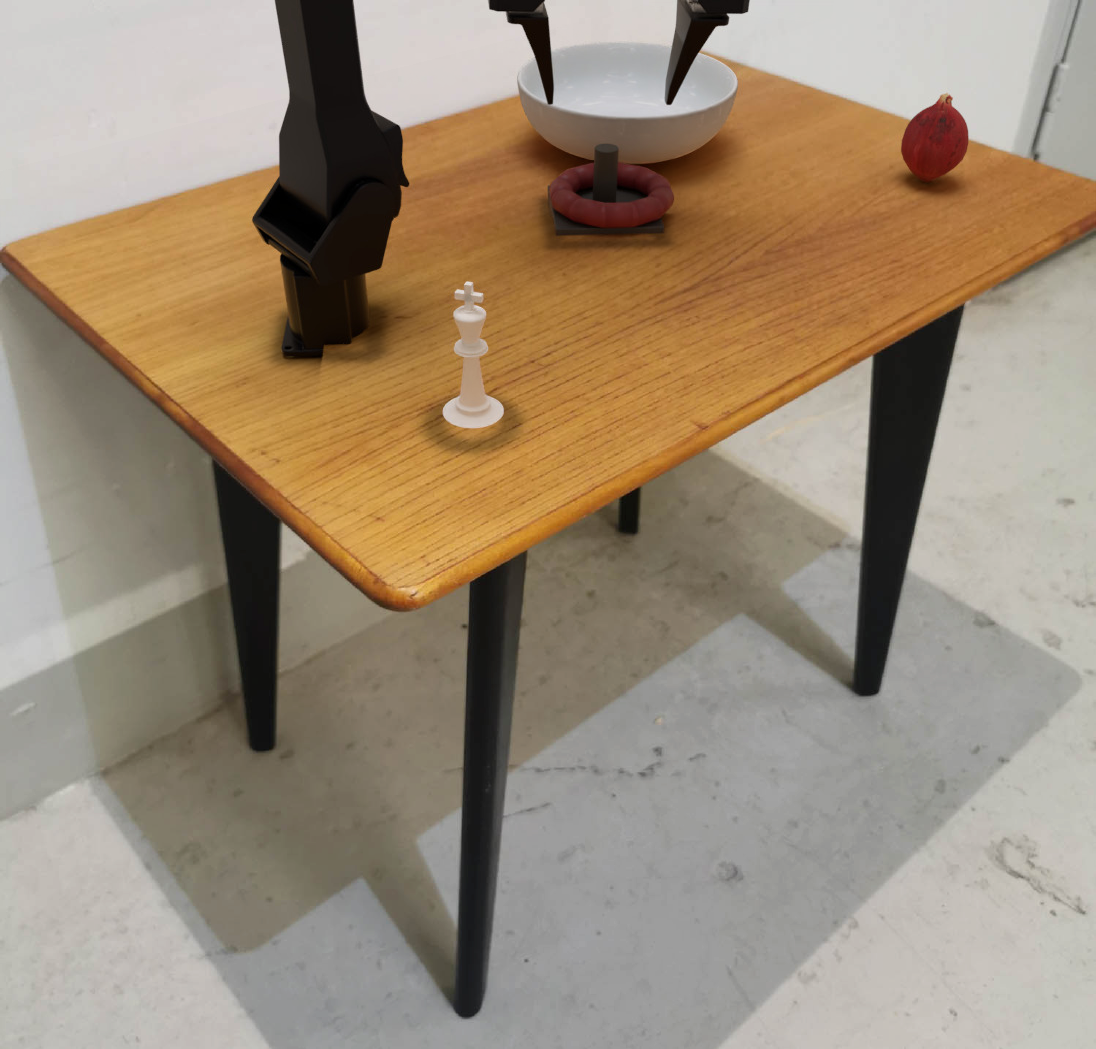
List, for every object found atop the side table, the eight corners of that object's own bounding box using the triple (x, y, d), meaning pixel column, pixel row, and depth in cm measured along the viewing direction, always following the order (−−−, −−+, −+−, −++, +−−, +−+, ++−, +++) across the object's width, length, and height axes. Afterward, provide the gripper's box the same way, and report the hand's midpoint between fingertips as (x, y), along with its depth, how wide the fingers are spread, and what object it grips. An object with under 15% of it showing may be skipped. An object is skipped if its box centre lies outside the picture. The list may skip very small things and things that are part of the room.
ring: (681, 230, 92) (683, 207, 91) (555, 233, 92) (555, 210, 90) (661, 180, 100) (663, 158, 99) (545, 182, 100) (545, 160, 98)
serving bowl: (474, 142, 111) (471, 70, 106) (623, 95, 122) (627, 28, 117) (623, 209, 99) (628, 132, 95) (774, 151, 110) (784, 79, 106)
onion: (955, 198, 102) (978, 109, 97) (890, 189, 103) (909, 101, 98) (959, 174, 106) (981, 88, 101) (896, 166, 107) (915, 80, 102)
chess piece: (451, 396, 76) (444, 259, 69) (521, 409, 74) (520, 271, 68) (424, 437, 72) (414, 296, 66) (497, 450, 71) (494, 308, 64)
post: (663, 243, 94) (669, 168, 90) (555, 246, 93) (557, 170, 89) (647, 199, 101) (652, 127, 97) (547, 201, 100) (548, 128, 96)
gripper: (732, -144, 84) (708, 71, 94) (483, -149, 83) (484, 70, 92) (767, -117, 75) (736, 117, 85) (489, -123, 74) (489, 116, 84)
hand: (609, 103), depth 87 cm, fingers open, 9 cm apart
